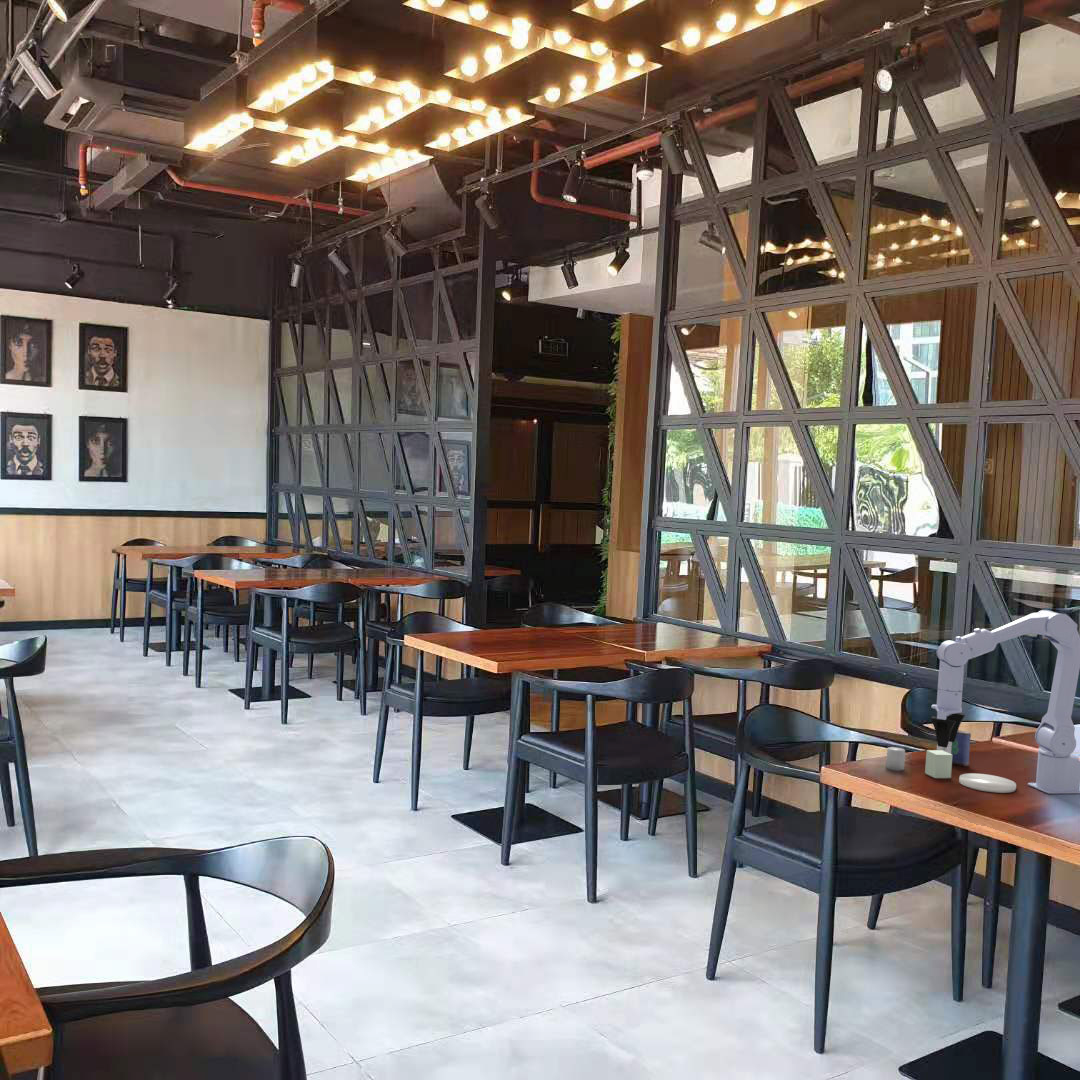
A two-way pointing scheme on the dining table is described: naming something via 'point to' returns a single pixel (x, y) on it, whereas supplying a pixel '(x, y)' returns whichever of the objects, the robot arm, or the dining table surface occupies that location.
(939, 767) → the sage block
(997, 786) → the plate
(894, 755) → the white rounded domed part
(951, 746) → the salt shaker
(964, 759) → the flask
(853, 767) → the dining table surface
